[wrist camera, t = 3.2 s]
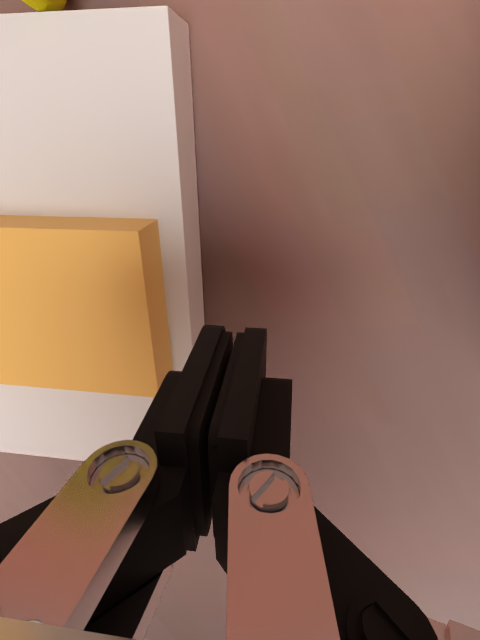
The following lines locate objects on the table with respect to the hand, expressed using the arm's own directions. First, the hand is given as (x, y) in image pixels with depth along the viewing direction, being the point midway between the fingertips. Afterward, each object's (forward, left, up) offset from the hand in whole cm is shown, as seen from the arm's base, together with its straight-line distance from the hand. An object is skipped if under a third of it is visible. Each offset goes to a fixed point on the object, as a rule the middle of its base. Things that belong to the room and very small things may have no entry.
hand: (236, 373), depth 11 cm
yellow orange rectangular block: (-1, +9, -6) cm, 11 cm away
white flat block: (-1, +9, -8) cm, 12 cm away
